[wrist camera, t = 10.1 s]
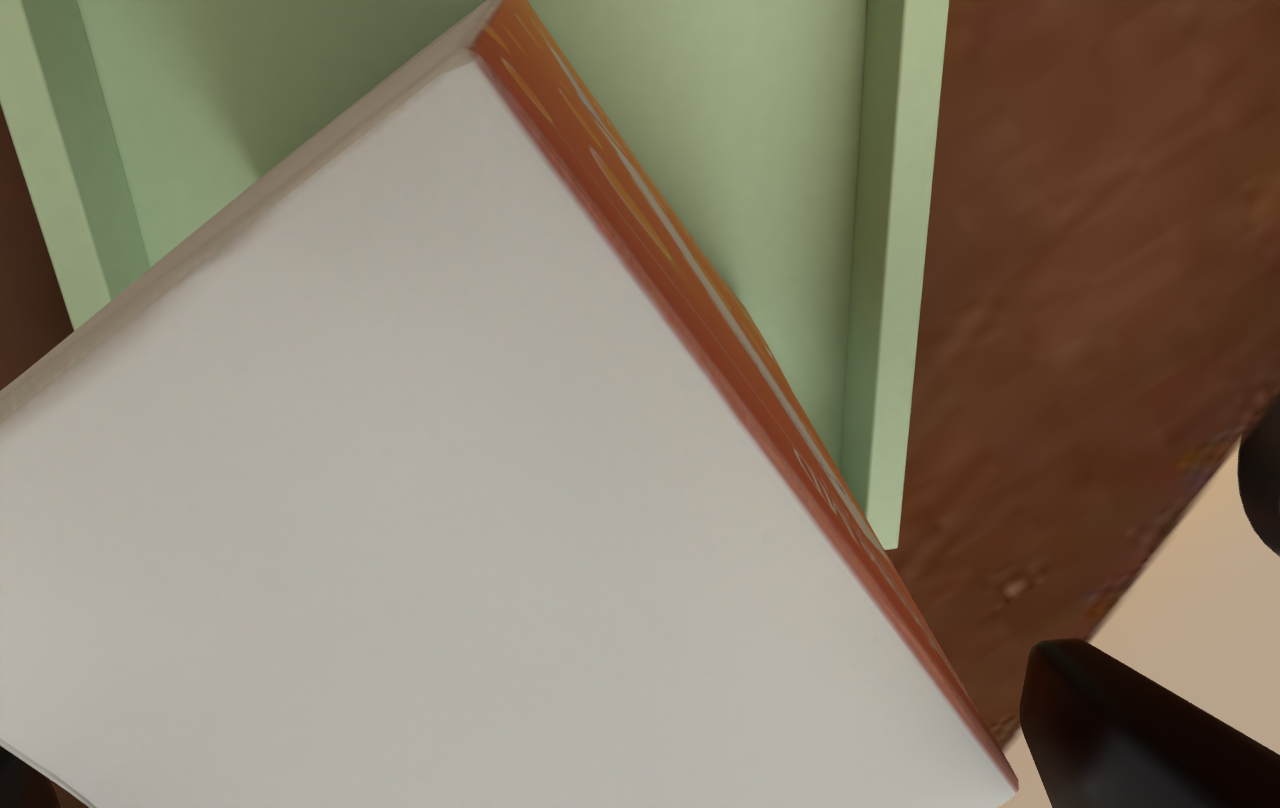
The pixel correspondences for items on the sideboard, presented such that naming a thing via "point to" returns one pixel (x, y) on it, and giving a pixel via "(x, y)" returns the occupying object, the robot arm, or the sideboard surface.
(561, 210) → the small box
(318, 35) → the tray
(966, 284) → the sideboard surface
